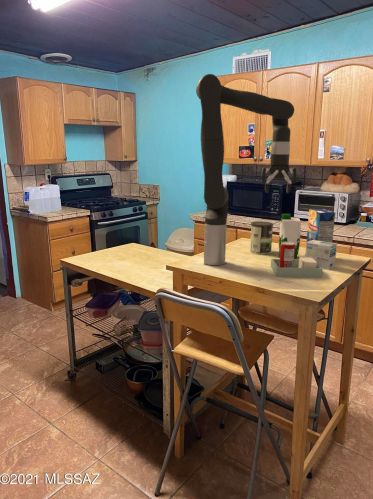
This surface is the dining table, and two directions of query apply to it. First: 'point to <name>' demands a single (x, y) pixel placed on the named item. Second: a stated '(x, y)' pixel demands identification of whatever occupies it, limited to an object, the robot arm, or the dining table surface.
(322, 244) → the light bulb box
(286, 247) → the soda can
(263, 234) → the coffee can
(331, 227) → the beverage box
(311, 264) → the cream white block
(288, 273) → the tote
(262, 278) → the dining table surface
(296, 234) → the milk carton
